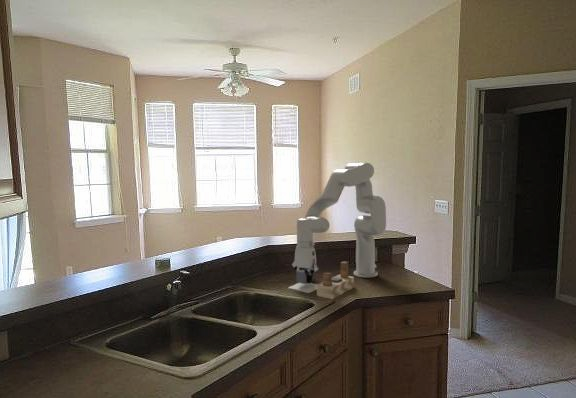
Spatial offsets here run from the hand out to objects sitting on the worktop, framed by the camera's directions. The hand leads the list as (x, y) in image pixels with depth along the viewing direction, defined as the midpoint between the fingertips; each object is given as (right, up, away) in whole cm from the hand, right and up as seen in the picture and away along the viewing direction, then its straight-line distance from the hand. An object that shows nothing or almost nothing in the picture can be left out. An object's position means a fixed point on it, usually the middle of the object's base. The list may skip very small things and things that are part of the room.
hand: (305, 281), depth 181 cm
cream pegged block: (+14, -3, -6) cm, 16 cm away
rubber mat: (0, -3, 0) cm, 3 cm away
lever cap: (0, 0, 0) cm, 0 cm away
